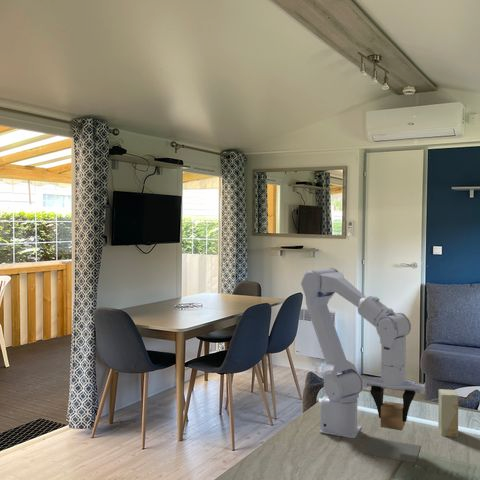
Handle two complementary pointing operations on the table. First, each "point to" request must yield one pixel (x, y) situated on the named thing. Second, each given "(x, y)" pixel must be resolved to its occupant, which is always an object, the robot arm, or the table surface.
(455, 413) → the box
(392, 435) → the table surface
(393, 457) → the mat
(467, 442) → the table surface
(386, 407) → the cube
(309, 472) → the table surface
